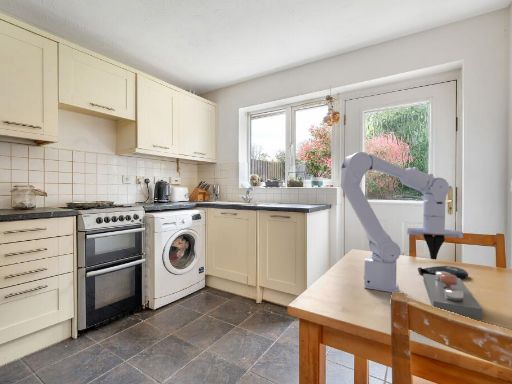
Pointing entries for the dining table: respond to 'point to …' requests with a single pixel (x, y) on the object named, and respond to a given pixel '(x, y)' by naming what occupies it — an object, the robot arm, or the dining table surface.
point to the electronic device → (452, 270)
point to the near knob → (454, 295)
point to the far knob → (439, 274)
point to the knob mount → (438, 300)
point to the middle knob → (448, 279)
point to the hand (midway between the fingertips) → (433, 258)
